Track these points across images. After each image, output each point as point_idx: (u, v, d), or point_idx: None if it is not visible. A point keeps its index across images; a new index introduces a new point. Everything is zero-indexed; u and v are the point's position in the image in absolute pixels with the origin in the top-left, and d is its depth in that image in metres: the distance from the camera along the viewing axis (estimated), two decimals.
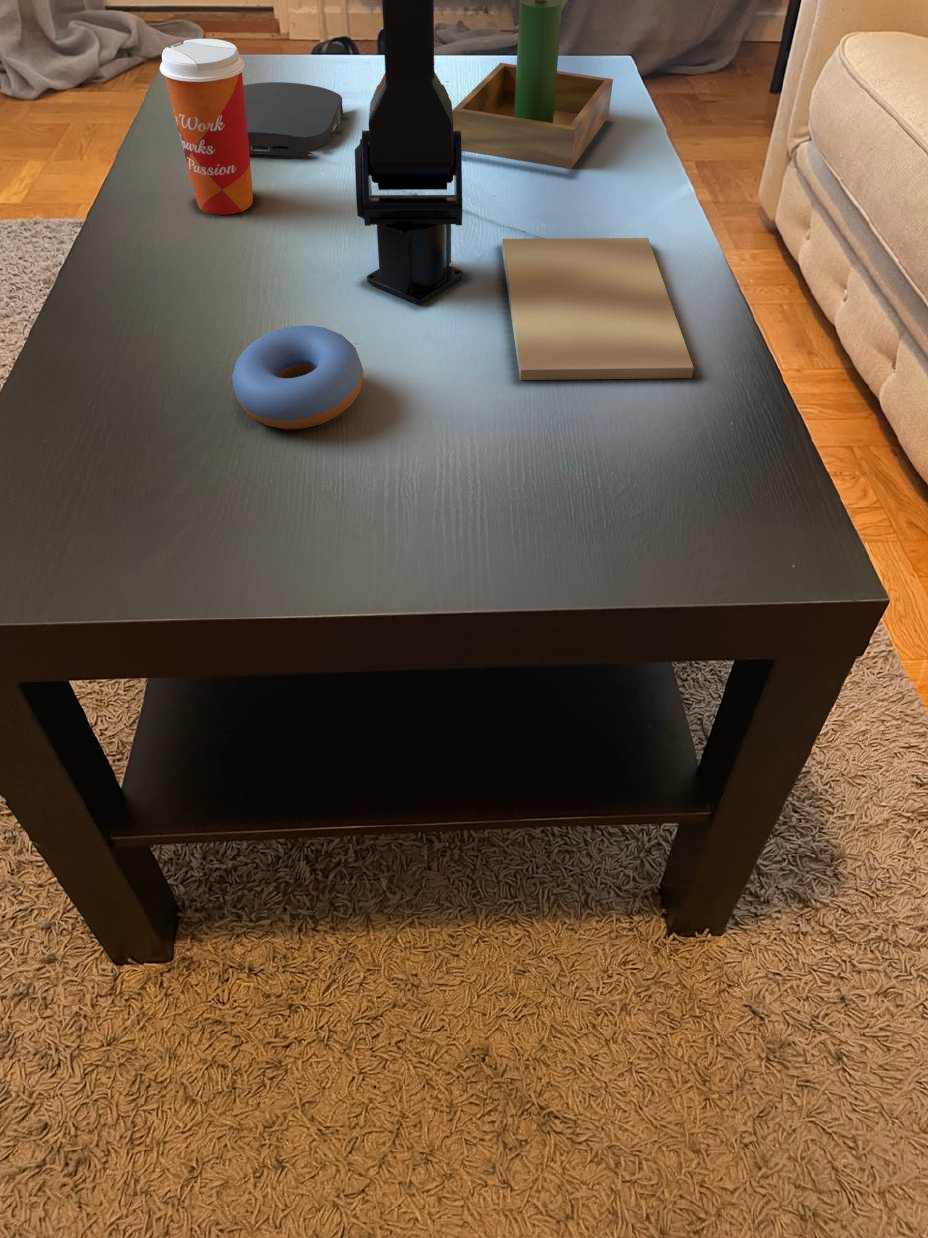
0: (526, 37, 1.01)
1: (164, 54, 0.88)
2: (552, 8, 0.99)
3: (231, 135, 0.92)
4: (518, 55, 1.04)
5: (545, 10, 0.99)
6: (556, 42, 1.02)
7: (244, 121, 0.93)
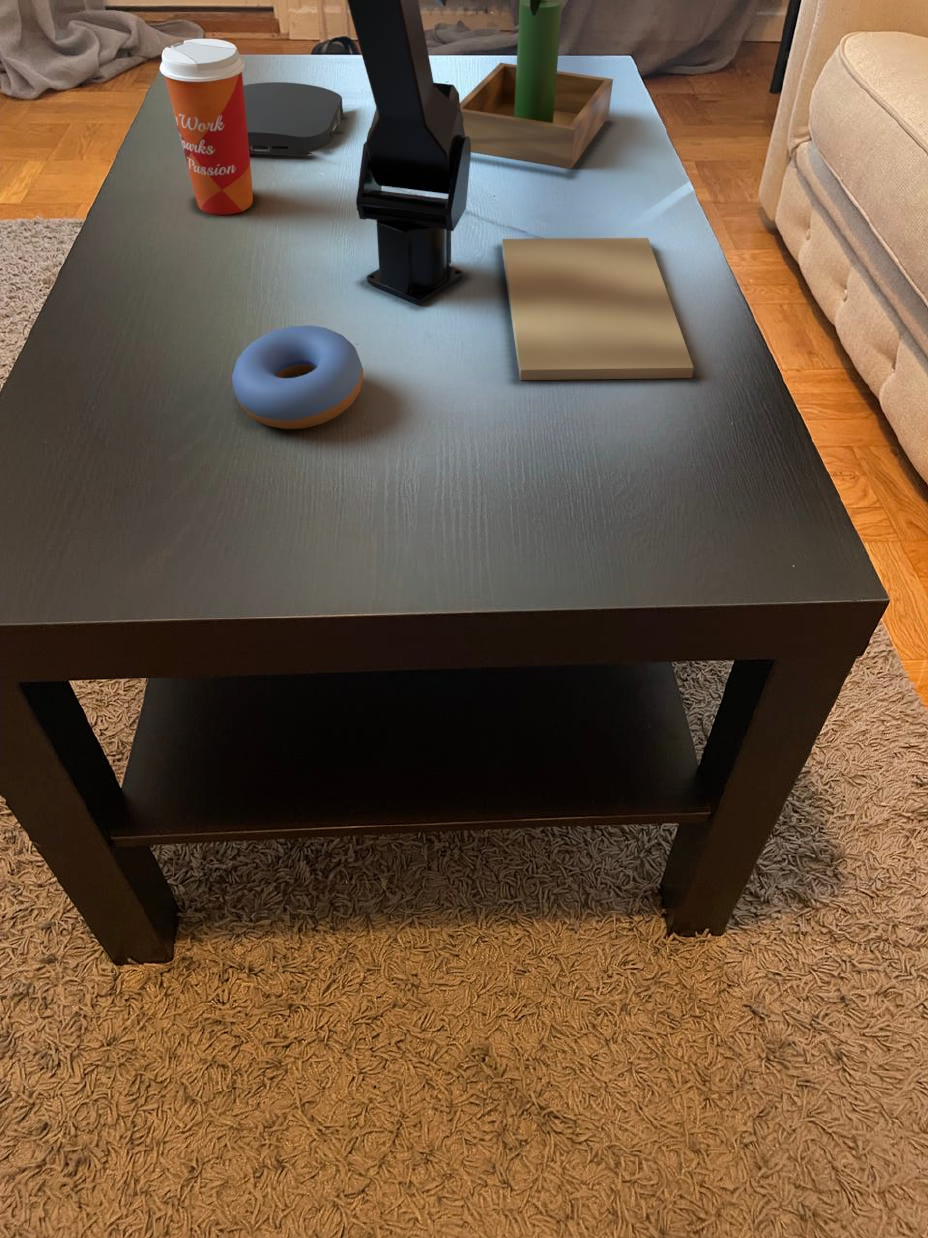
0: (526, 37, 1.01)
1: (164, 54, 0.88)
2: (552, 8, 0.99)
3: (231, 135, 0.92)
4: (518, 55, 1.04)
5: (545, 10, 0.99)
6: (556, 42, 1.02)
7: (244, 121, 0.93)
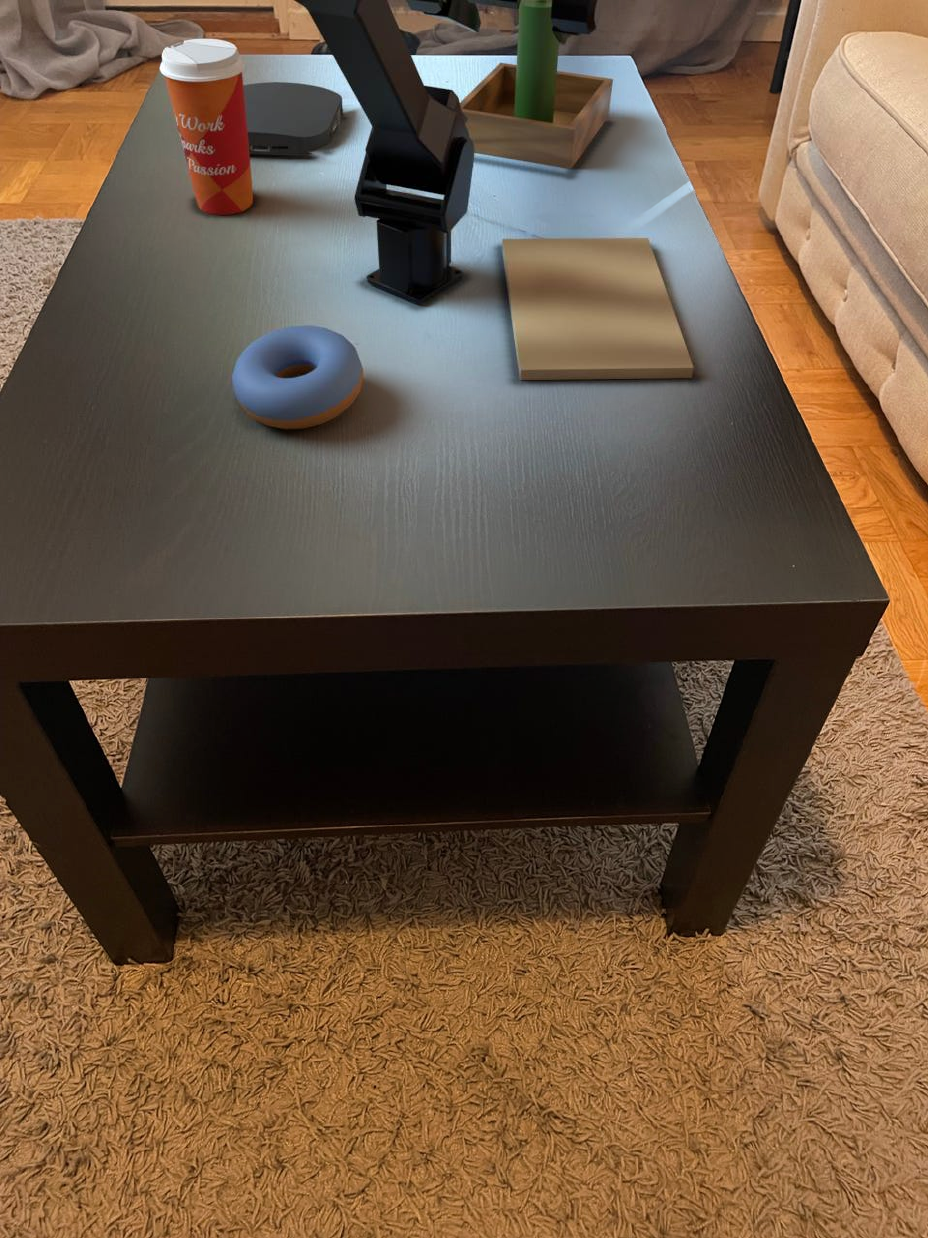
0: (526, 37, 1.01)
1: (164, 54, 0.88)
2: None
3: (231, 135, 0.92)
4: (518, 55, 1.04)
5: (545, 10, 0.99)
6: (556, 42, 1.02)
7: (244, 121, 0.93)
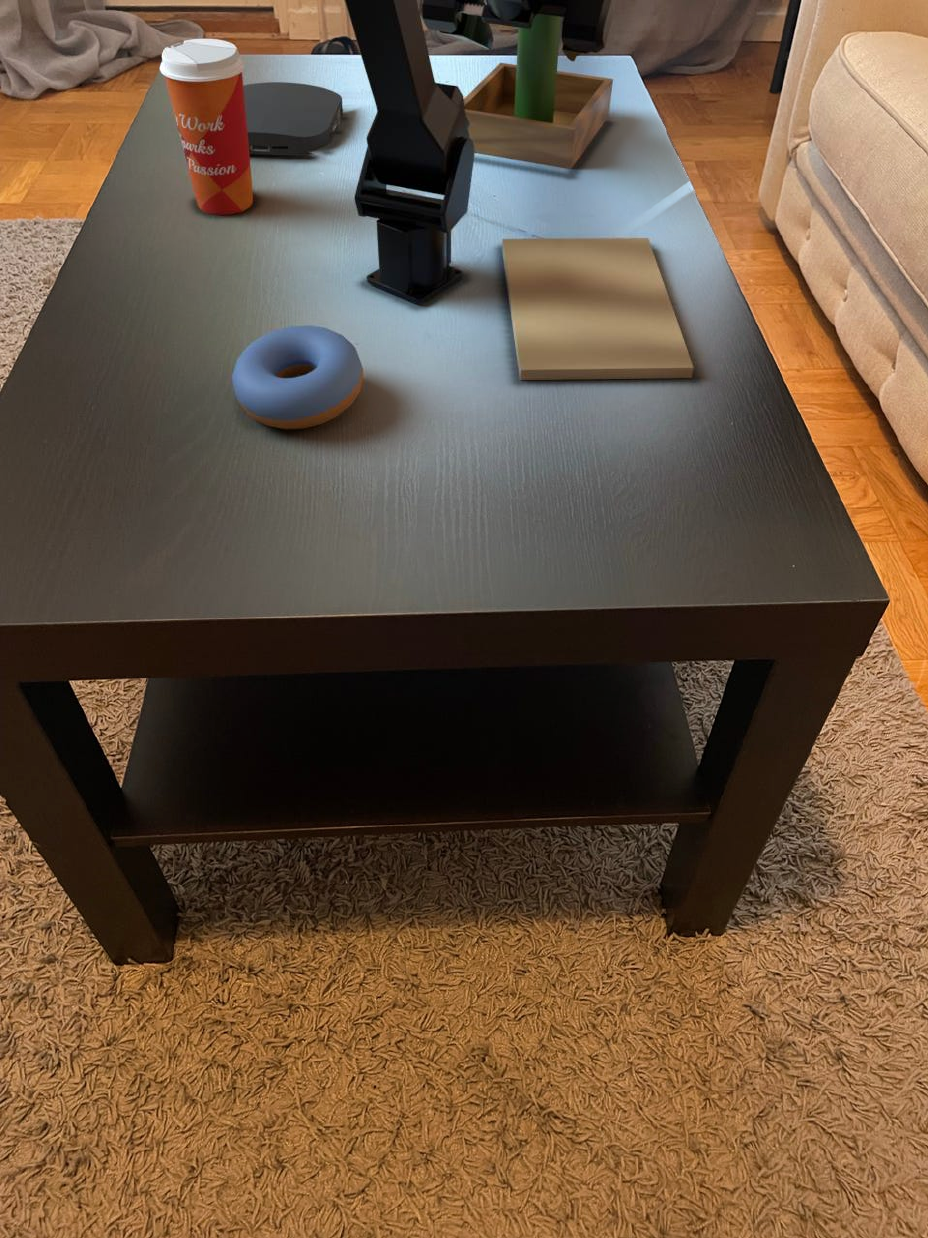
0: (526, 37, 1.01)
1: (164, 54, 0.88)
2: None
3: (231, 135, 0.92)
4: (518, 55, 1.04)
5: None
6: (556, 42, 1.02)
7: (244, 121, 0.93)
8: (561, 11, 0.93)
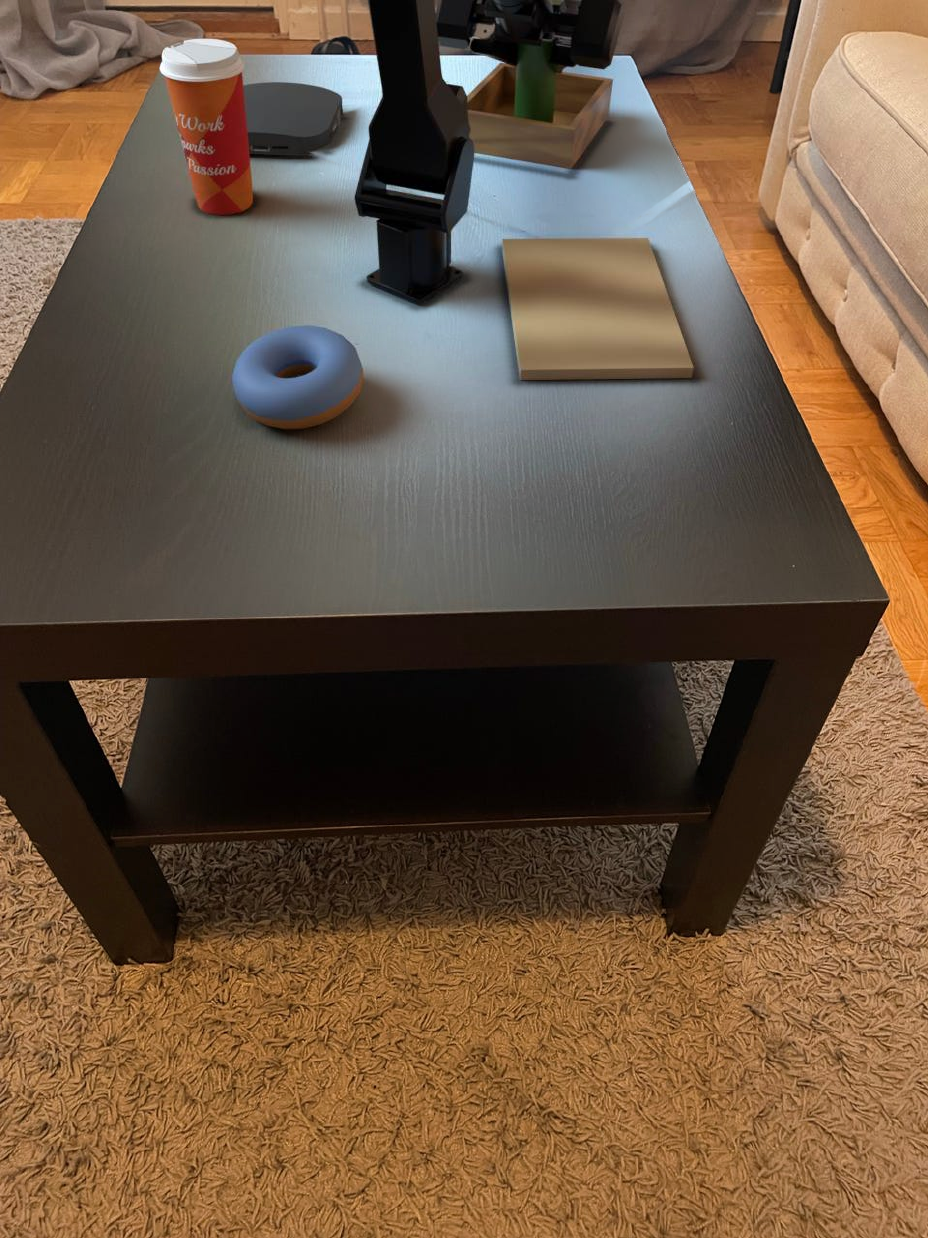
0: None
1: (164, 54, 0.88)
2: None
3: (231, 135, 0.92)
4: (518, 54, 1.04)
5: None
6: None
7: (244, 121, 0.93)
8: (569, 30, 0.97)
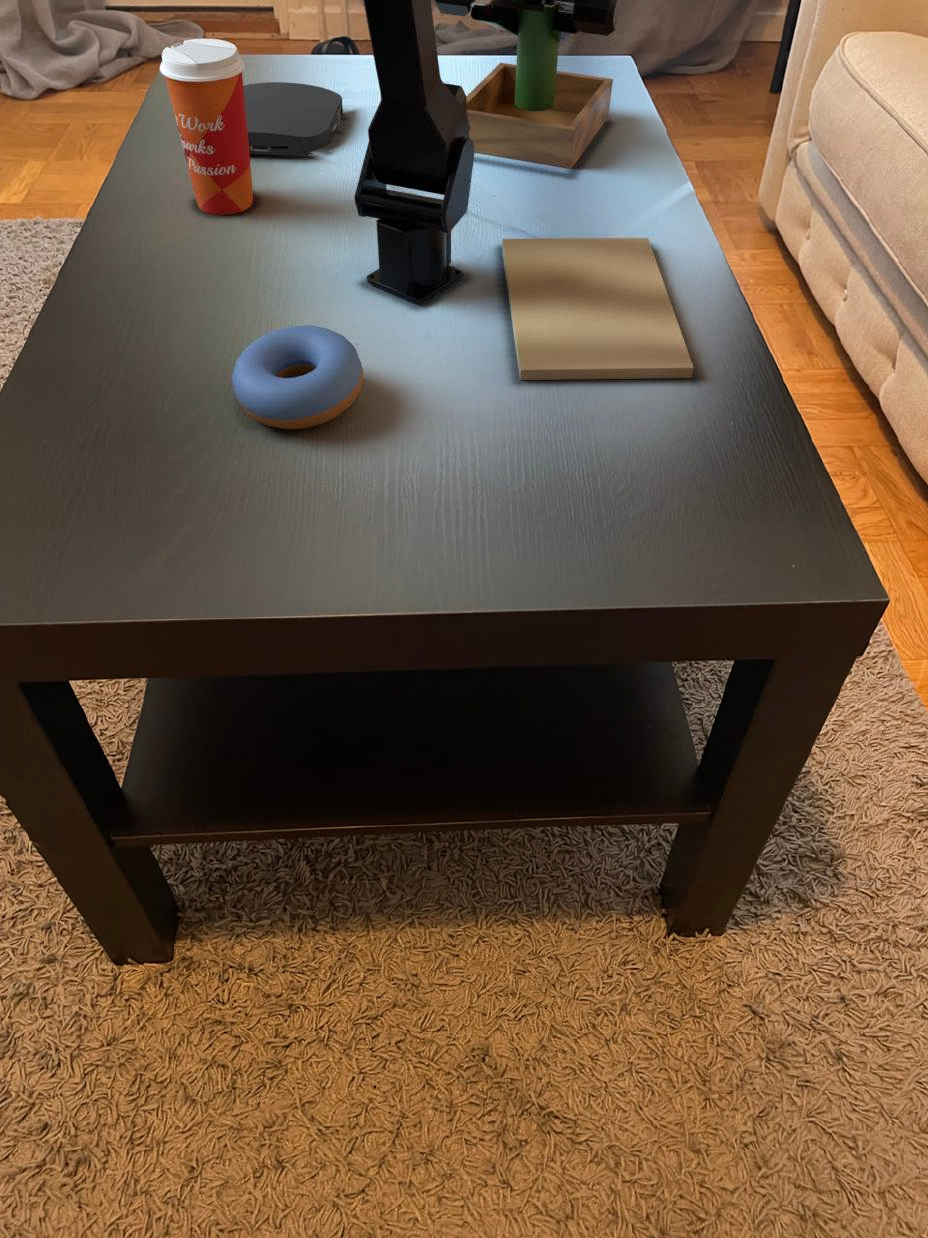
0: None
1: (164, 54, 0.88)
2: None
3: (231, 135, 0.92)
4: (520, 23, 1.01)
5: None
6: None
7: (244, 121, 0.93)
8: None
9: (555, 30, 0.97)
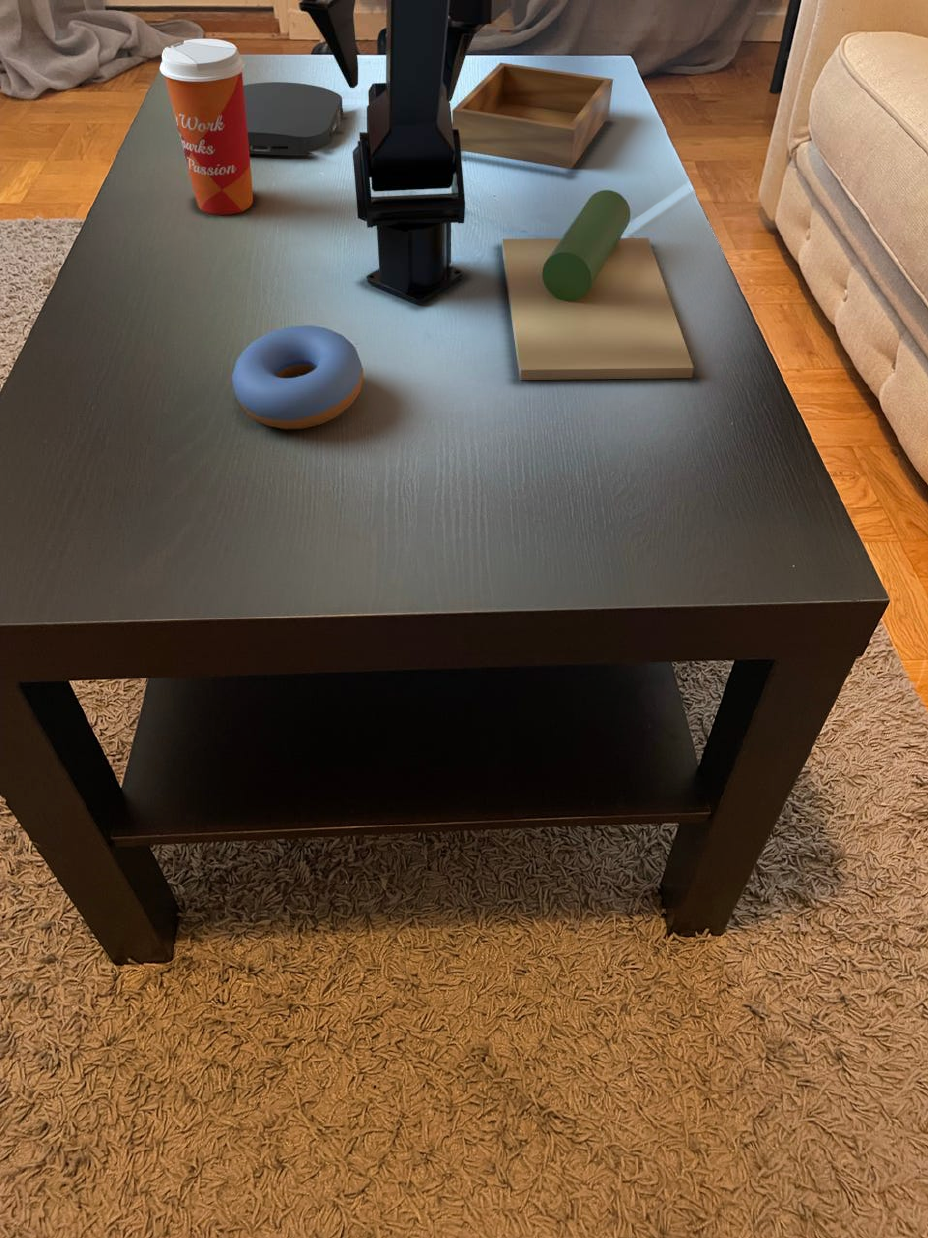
0: (589, 204, 0.88)
1: (164, 54, 0.88)
2: (623, 197, 0.90)
3: (231, 135, 0.92)
4: None
5: (616, 193, 0.90)
6: (619, 222, 0.88)
7: (244, 121, 0.93)
8: None
9: None
